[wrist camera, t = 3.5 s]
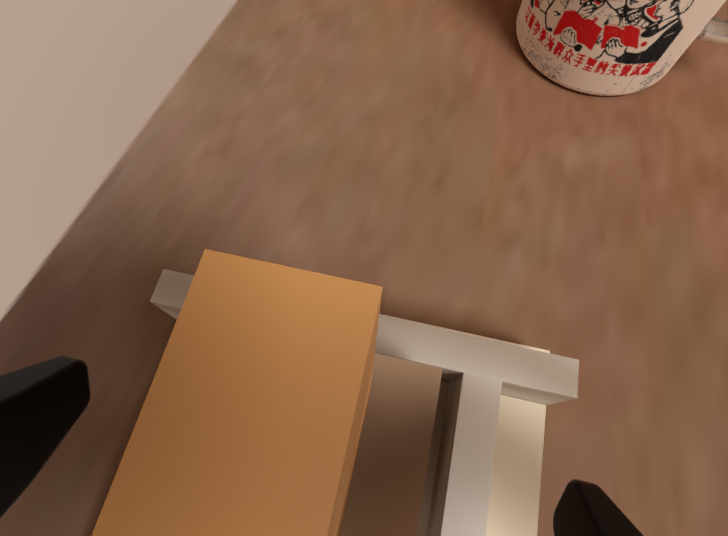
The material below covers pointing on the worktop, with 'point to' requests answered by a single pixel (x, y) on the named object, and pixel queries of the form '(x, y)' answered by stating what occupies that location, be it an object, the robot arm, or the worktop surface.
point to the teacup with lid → (613, 40)
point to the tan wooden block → (276, 415)
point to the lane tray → (467, 420)
